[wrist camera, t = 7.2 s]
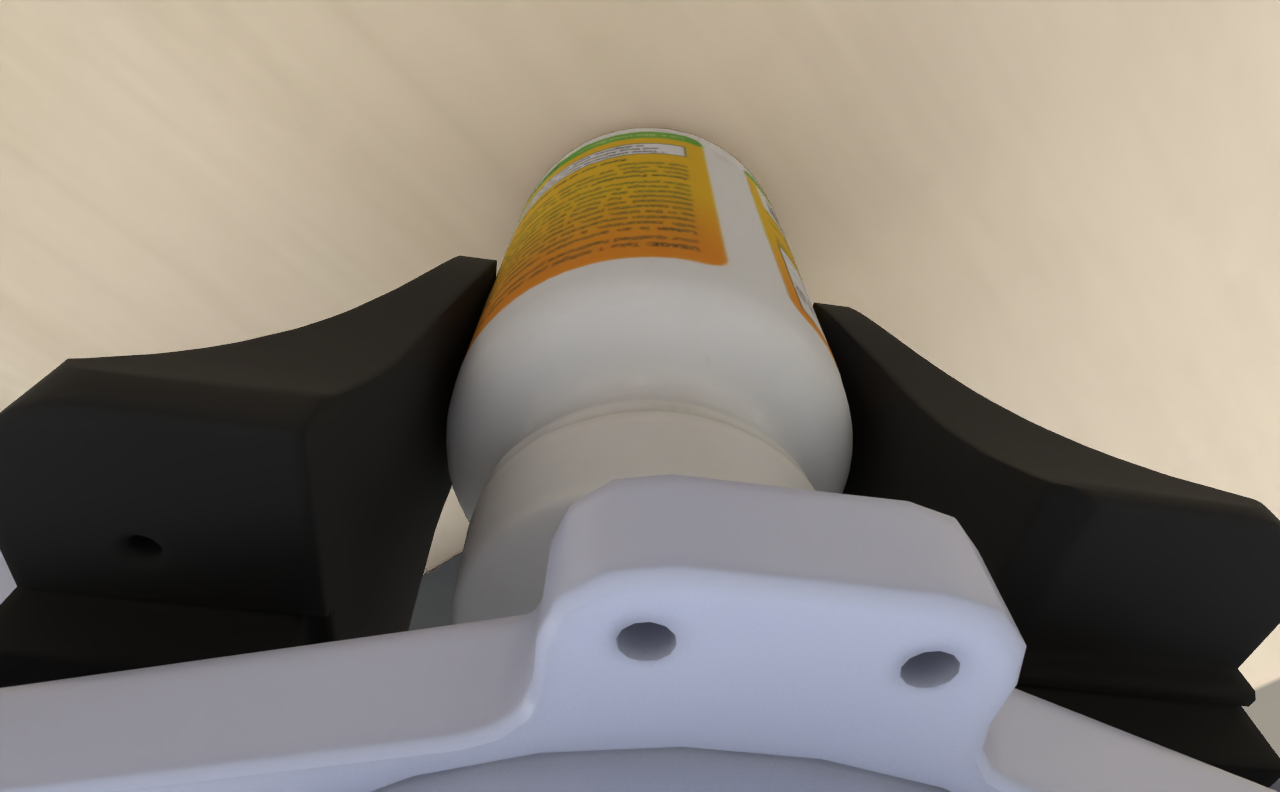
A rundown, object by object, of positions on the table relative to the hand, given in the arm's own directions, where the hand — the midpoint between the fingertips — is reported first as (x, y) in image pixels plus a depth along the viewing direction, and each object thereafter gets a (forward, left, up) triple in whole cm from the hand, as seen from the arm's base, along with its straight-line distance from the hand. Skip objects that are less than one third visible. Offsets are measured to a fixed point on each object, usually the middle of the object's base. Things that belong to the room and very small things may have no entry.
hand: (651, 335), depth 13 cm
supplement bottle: (0, 0, -4) cm, 4 cm away
